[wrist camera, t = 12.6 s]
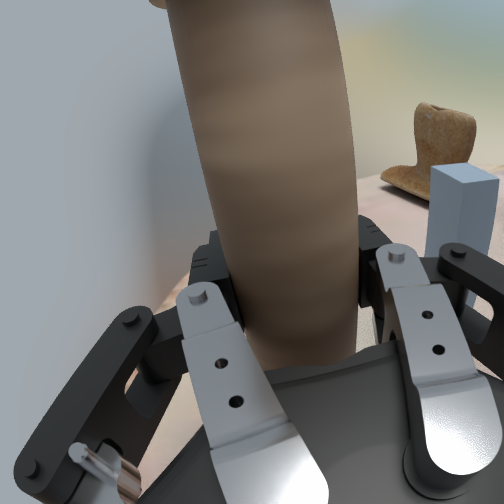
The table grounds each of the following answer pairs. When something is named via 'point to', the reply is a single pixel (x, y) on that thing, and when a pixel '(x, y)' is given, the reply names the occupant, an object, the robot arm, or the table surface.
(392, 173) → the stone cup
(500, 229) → the table surface
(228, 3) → the candlestick
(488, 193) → the blue pillar pair
